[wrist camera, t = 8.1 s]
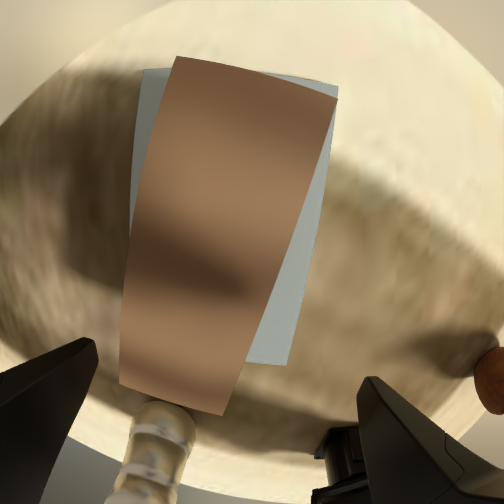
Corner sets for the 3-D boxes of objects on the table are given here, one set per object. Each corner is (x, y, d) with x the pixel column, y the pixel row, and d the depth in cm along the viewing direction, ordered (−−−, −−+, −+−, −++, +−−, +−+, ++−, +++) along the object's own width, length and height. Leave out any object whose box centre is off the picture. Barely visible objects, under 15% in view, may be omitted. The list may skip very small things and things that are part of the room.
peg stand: (285, 357, 22) (289, 403, 17) (140, 336, 22) (117, 375, 17) (334, 89, 15) (359, 69, 11) (149, 73, 15) (115, 52, 11)
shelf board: (227, 380, 17) (222, 416, 14) (136, 352, 16) (119, 383, 14) (321, 110, 12) (337, 98, 9) (194, 75, 11) (176, 56, 8)
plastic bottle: (196, 397, 24) (154, 596, 5) (202, 434, 26) (174, 595, 8) (133, 386, 24) (62, 561, 5) (146, 425, 27) (99, 573, 8)
